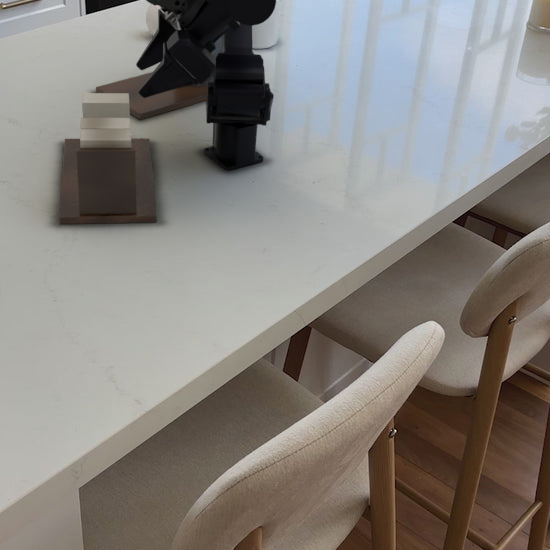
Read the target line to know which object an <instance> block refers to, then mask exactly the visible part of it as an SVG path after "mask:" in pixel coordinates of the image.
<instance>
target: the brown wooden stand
mask: <svg viewBox="0 0 550 550" xmlns="http://www.w3.org/2000/svg"><path fill="white" fill-rule="evenodd" d="M131 133H132V131H131V117H130V118H83V117H80V132H79V135H80V136H79V138H65V139H64V145H63V157H62V159H63V160H62V172H61V185H60V187H61V188H60V200H59V215H58V220H59V224H60V225H79V224H81V225H83V224H134V223H136V224H137V223H139V224H140V223H157V221H158V217H157V205H156V195H155V185H154V184H155V182H154V173H153V162H152V152H151V142H150V138H132V136H131V135H132V134H131Z"/></svg>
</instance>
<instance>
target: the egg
mask: <svg viewBox="0 0 550 550" xmlns="http://www.w3.org/2000/svg"><path fill="white" fill-rule="evenodd" d="M158 9H160V10H161V7H160V6H158V5H153V4H151V3H149V6H148V8H147V11H146V13H145V14H146V15H145V23H146V26H147V29H148V31H149V32H150V34H151V35H153V36H154V34H155V33H156V31H157V29H158ZM161 11H162V10H161ZM162 12H163V11H162ZM163 13H164V12H163Z"/></svg>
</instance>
